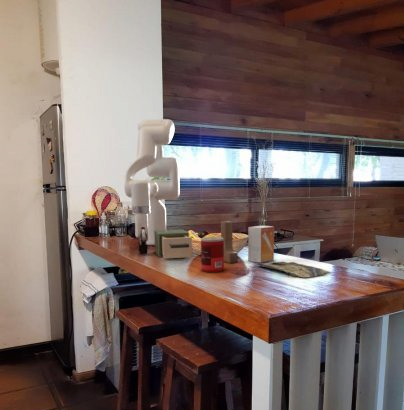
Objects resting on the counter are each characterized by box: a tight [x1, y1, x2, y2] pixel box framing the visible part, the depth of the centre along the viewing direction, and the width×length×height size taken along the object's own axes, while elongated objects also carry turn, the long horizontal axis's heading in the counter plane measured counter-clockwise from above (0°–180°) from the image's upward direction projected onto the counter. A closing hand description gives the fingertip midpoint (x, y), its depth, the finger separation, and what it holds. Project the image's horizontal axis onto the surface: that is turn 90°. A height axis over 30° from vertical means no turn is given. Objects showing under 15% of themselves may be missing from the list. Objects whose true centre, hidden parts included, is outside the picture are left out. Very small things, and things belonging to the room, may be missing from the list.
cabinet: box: [154, 228, 190, 258], centre depth 179 cm, size 15×13×10 cm
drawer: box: [160, 235, 193, 260], centre depth 167 cm, size 19×11×8 cm, turn 13°
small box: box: [247, 225, 275, 264], centre depth 159 cm, size 8×6×13 cm
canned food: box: [200, 236, 225, 273], centre depth 142 cm, size 8×8×11 cm
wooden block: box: [220, 220, 238, 264], centre depth 158 cm, size 7×3×15 cm, turn 29°
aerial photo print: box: [256, 261, 329, 278], centre depth 142 cm, size 25×19×2 cm
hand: (143, 252), depth 181 cm, fingers closed on ring, 5 cm apart
